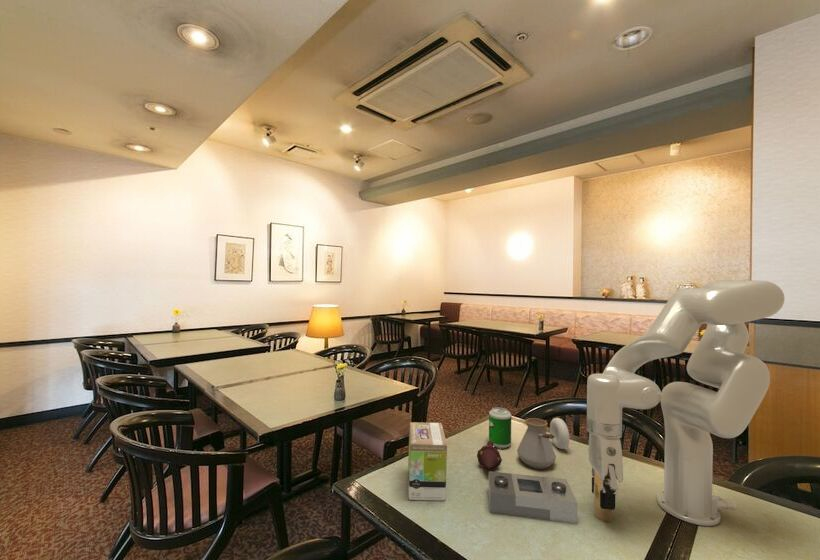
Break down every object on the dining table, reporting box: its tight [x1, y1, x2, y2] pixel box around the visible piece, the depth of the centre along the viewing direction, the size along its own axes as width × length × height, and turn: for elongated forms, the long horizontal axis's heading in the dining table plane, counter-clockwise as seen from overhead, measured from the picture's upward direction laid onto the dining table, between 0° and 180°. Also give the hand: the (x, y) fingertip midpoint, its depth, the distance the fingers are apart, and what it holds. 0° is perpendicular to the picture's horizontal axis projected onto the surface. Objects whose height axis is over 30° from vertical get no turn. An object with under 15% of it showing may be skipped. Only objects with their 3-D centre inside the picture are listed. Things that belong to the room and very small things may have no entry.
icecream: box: [476, 440, 503, 470], centre depth 109 cm, size 7×7×15 cm
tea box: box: [407, 421, 448, 501], centre depth 99 cm, size 15×10×15 cm
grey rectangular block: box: [487, 470, 578, 524], centre depth 91 cm, size 20×10×6 cm, turn 80°
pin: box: [593, 470, 613, 523], centre depth 87 cm, size 4×4×12 cm
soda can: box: [488, 407, 512, 450], centre depth 124 cm, size 8×8×12 cm
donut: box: [549, 417, 571, 450], centre depth 122 cm, size 10×3×10 cm, turn 4°
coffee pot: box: [516, 417, 558, 470], centre depth 107 cm, size 21×12×15 cm, turn 177°
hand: (603, 500), depth 87 cm, fingers open, 5 cm apart
